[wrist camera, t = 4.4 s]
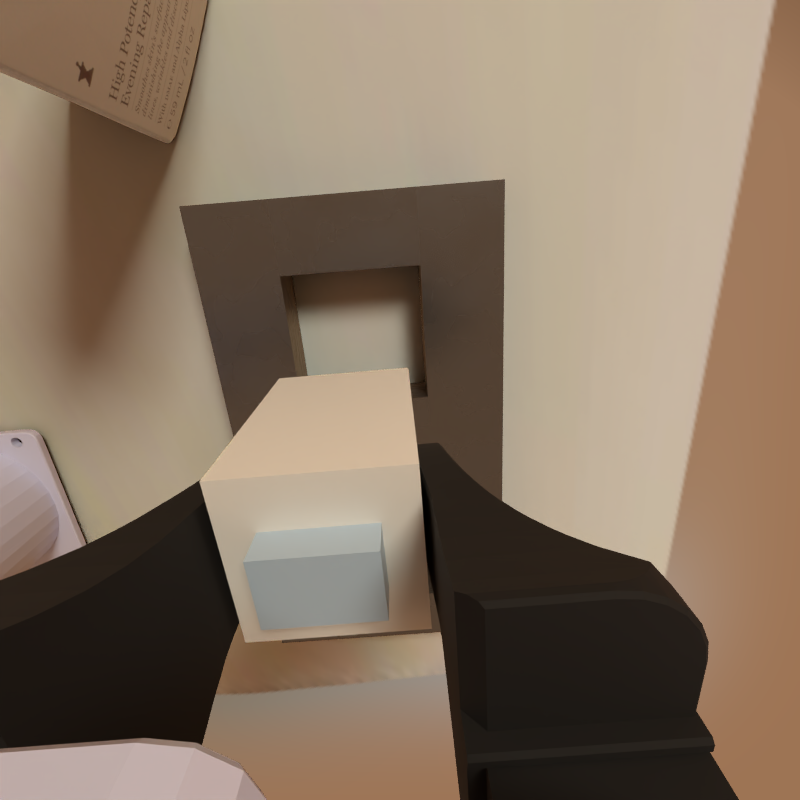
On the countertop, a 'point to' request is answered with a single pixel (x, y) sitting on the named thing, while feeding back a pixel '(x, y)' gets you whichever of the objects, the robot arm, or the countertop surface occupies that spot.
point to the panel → (358, 250)
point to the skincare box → (107, 55)
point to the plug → (324, 510)
